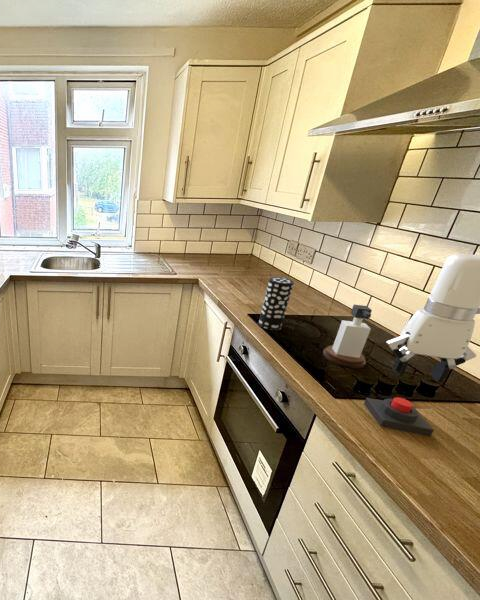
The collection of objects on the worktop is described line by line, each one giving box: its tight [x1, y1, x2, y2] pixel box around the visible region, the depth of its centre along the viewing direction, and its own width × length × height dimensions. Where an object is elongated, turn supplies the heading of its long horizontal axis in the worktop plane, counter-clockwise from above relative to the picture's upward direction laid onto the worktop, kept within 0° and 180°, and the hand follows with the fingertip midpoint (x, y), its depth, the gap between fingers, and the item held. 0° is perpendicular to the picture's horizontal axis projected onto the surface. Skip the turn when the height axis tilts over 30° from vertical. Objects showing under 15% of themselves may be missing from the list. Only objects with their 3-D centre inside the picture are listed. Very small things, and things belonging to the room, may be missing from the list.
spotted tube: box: [257, 276, 295, 331], centre depth 128 cm, size 8×8×20 cm
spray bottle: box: [325, 304, 373, 363], centre depth 105 cm, size 10×10×18 cm
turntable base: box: [322, 347, 367, 369], centre depth 109 cm, size 12×12×1 cm
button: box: [391, 396, 414, 413], centre depth 81 cm, size 4×4×2 cm
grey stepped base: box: [363, 397, 435, 437], centre depth 82 cm, size 10×9×4 cm
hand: (416, 375), depth 77 cm, fingers open, 6 cm apart
